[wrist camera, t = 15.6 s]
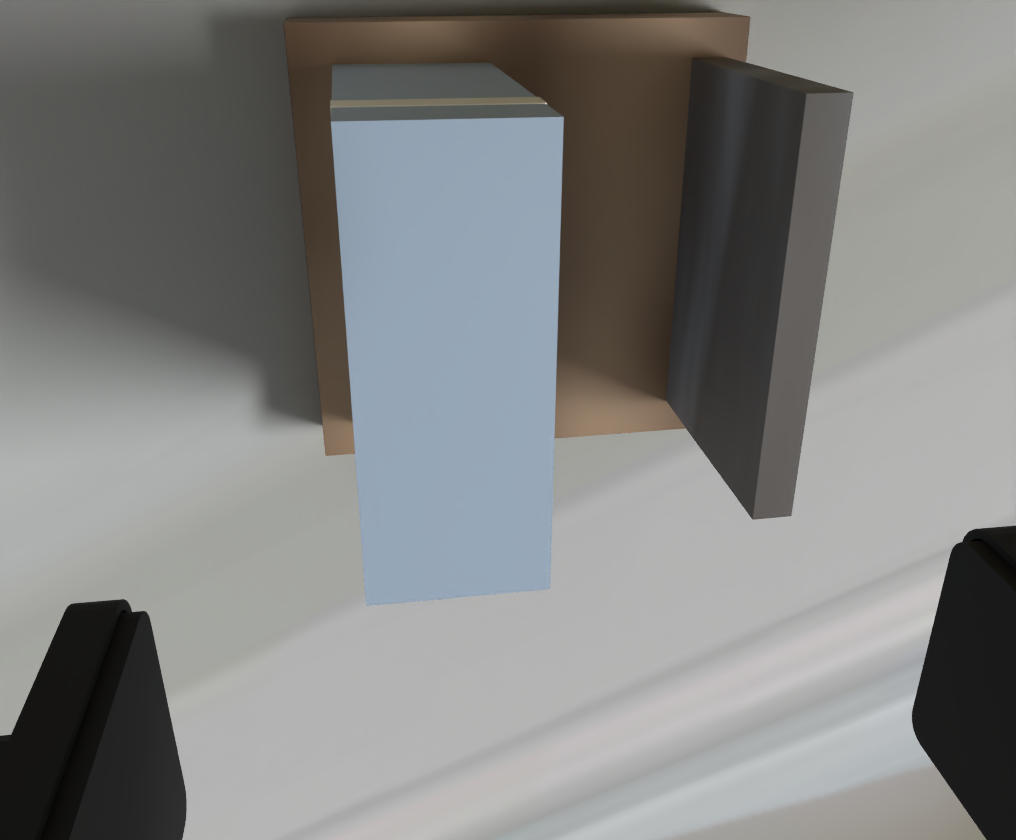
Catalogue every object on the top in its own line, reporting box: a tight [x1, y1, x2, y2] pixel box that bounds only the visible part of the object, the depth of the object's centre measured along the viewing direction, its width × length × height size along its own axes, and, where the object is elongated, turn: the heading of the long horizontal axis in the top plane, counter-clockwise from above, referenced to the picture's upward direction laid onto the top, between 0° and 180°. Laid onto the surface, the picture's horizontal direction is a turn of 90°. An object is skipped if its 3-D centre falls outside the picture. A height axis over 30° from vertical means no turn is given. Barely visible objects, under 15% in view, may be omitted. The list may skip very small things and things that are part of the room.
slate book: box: [330, 63, 564, 606], centre depth 23 cm, size 4×10×9 cm, turn 0°
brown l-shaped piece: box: [284, 12, 853, 519], centre depth 25 cm, size 12×12×9 cm
